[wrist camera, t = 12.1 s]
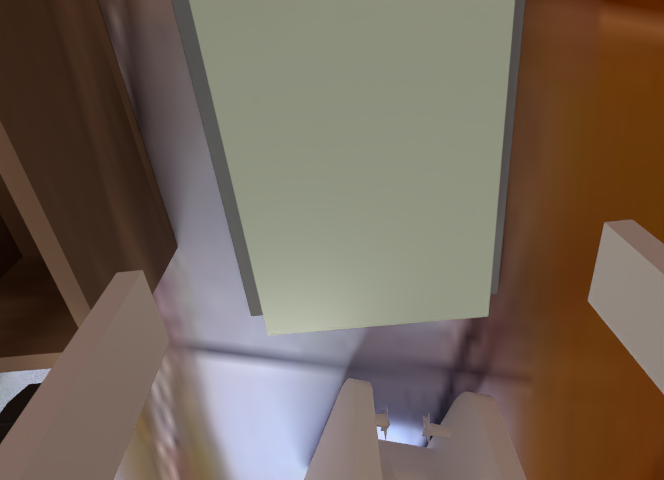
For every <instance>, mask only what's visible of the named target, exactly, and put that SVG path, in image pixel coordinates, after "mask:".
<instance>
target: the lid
mask: <svg viewBox="0 0 664 480" xmlns="http://www.w3.org/2000/svg"><path fill="white" fill-rule="evenodd" d="M189 2H190V6H191V11H192V15H193V19H194V23H195V28H196V32H197V36H198V40H199V45H200V49H201V53H202V57H203V62H204V66H205V70H206V74H207V79H208V83H209V87H210V91H211V96H212V100H213V104H214V108H215V113H216V117H217V121H218V125H219V130H220V134H221V138H222V142H223V147H224V151H225V155H226V159H227V164H228V168H229V172H230V176H231V181H232V185H233V189H234V193H235V198H236V202H237V206H238V210H239V215H240V219H241V223H242V227H243V232H244V236H245V240H246V244H247V249H248V253H249V257H250V261H251V266H252V270H253V274H254V278H255V283H256V287H257V291H258V295H259V300H260V304H261V308H262V312H263V317H264V321H265V325H266V329H267V334H268V336H269V335H280V334H292V333H303V332H315V331H327V330H338V329H350V328H362V327H373V326H385V325H396V324H408V323H420V322H431V321H443V320H455V319H466V318H478V317H488V314H489V302H490V290H491V278H492V267H493V255H494V243H495V231H496V219H497V207H498V196H499V184H500V172H501V160H502V148H503V136H504V124H505V113H506V101H507V89H508V77H509V65H510V53H511V42H512V30H513V18H514V6H515V0H189Z"/></svg>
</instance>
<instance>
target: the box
mask: <svg viewBox="0 0 664 480" xmlns="http://www.w3.org/2000/svg"><path fill="white" fill-rule="evenodd" d="M177 248H178V247H177V244H176V241H175V238H174V235H173V232H172V229H171V226H170V223H169V220H168V217H167V213H166V210H165V207H164V204H163V201H162V198H161V195H160V192H159V189H158V186H157V183H156V180H155V177H154V174H153V170H152V167H151V164H150V161H149V158H148V155H147V152H146V149H145V146H144V143H143V140H142V137H141V134H140V131H139V127H138V124H137V121H136V118H135V115H134V112H133V109H132V106H131V103H130V100H129V97H128V94H127V91H126V88H125V84H124V81H123V78H122V75H121V72H120V69H119V66H118V63H117V60H116V57H115V54H114V51H113V48H112V45H111V41H110V38H109V35H108V32H107V29H106V26H105V23H104V20H103V17H102V14H101V11H100V8H99V5H98V2H97V0H0V373H1V372H13V371H24V370H36V369H48V368H52V367H53V366H54V364H55V363H56V361H57V360H58V359H59V357H60V356H61V354H62V353H63V351H64V350H65V348H66V347H67V345H68V344H69V342H70V341H71V339H72V338H73V336H74V335H75V333H76V332H77V330H78V329H79V328H80V326H81V325H82V323H83V322H84V320H85V319H86V317H87V316H88V314H89V313H90V311H91V310H92V308H93V307H94V305H95V304H96V302H97V301H98V299H99V298H100V297H101V295H102V294H103V292H104V291H105V289H106V288H107V286H108V285H109V283H110V282H111V280H112V279H113V277H114V276H115V274H116V273H118V272H127V271H137V270H143V272H144V275H145V277H146V280H147V283H148V285H149V288H150V291H151V293H152V294H153V292H154V291H155V289H156V287H157V285H158V283H159V281H160V279H161V278H162V276H163V274H164V272H165V270H166V268H167V266H168V264H169V263H170V261H171V259H172V257H173V255H174V253H175V251H176V249H177Z"/></svg>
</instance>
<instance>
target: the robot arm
mask: <svg viewBox="0 0 664 480" xmlns="http://www.w3.org/2000/svg"><path fill="white" fill-rule="evenodd" d="M588 302H589V303H590V304H591V306H592V307H593V308H594V309H595V311H596V312H597V313H598V314H599V315H600V317H601V318H602V319H603V320H604V322H605V323H606V324H607V325H608V326H609V328H610V329H611V330H612V331H613V333H614V334H615V335H616V336H617V338H618V339H619V340H620V341H621V342H622V344H623V345H624V346H625V347H626V349H627V350H628V351H629V352H630V353H631V355H632V356H633V357H634V358H635V360H636V361H637V362H638V363H639V365H640V366H641V367H642V368H643V369H644V371H645V372H646V373H647V374H648V376H649V377H650V378H651V379H652V381H653V382H654V383H655V384H656V385H657V387H658V388H659V389H660V390H661V392H662V393H663V394H664V244H663V243H662V242H660V241H659V240H658V239H656V238H655V237H654V236H653V235H651V234H650V233H649V232H648V231H646V230H645V229H644V228H643V227H641V226H640V225H639V224H638V223H636V222H635V221H634V220H622V221H613V222H604V227H603V232H602V236H601V241H600V246H599V250H598V255H597V260H596V264H595V269H594V274H593V278H592V283H591V288H590V292H589V297H588ZM169 342H170V341H169V339H168V336H167V333H166V331H165V328H164V325H163V323H162V320H161V317H160V315H159V312H158V309H157V307H156V304H155V301H154V299H153V296H152V293H151V291H150V288H149V285H148V283H147V280H146V277H145V275H144V272H143V270H137V271H127V272H118V273H116V274H115V276H114V277H113V279H112V280H111V282H110V283H109V285H108V286H107V288H106V289H105V291H104V292H103V294H102V295H101V297H100V298H99V299H98V301H97V302H96V304H95V305H94V307H93V308H92V310H91V311H90V313H89V314H88V316H87V317H86V319H85V320H84V322H83V323H82V325H81V326H80V328H79V329H78V330H77V332H76V333H75V335H74V336H73V338H72V339H71V341H70V342H69V344H68V345H67V347H66V348H65V350H64V351H63V353H62V354H61V356H60V357H59V359H58V360H57V361H56V363H55V364H54V366H53V367H52V369H51V370H50V372H49V373H48V375H47V376H46V378H45V379H44V381H43V382H42V383H38V384H29V385H28V386H27V387H26V388H24V389H23V390H22V391H21V392H20V393H19V394H17V395H16V396H15V397H14V398H13V399H12V400H10V401H9V402H8V403H7V405H6V406H5V407H4V409H3V410H2V412H1V413H0V480H113V479H114V477H115V475H116V472H117V470H118V467H119V465H120V462H121V460H122V457H123V455H124V452H125V450H126V448H127V445H128V443H129V440H130V438H131V435H132V433H133V430H134V428H135V425H136V423H137V421H138V418H139V416H140V413H141V411H142V408H143V406H144V403H145V401H146V398H147V396H148V394H149V391H150V389H151V386H152V384H153V381H154V379H155V376H156V374H157V371H158V369H159V367H160V364H161V362H162V359H163V357H164V354H165V352H166V349H167V347H168V344H169Z"/></svg>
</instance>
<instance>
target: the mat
mask: <svg viewBox="0 0 664 480" xmlns="http://www.w3.org/2000/svg"><path fill="white" fill-rule="evenodd" d="M171 1H172V5H173V9H174V13H175V17H176V20H177V24H178V28H179V32H180V36H181V40H182V44H183V48H184V52H185V56H186V60H187V64H188V68H189V72H190V76H191V80H192V84H193V88H194V92H195V96H196V100H197V104H198V108H199V111H200V115H201V119H202V123H203V127H204V131H205V135H206V139H207V143H208V147H209V151H210V155H211V159H212V163H213V167H214V171H215V175H216V179H217V183H218V187H219V191H220V195H221V199H222V203H223V206H224V210H225V214H226V218H227V222H228V226H229V230H230V234H231V238H232V242H233V246H234V250H235V254H236V258H237V262H238V266H239V270H240V274H241V278H242V282H243V286H244V290H245V294H246V298H247V301H248V305H249V309H250V313H251V316H258V315H263V312H262V308H261V304H260V300H259V295H258V291H257V287H256V283H255V278H254V274H253V270H252V266H251V261H250V257H249V253H248V249H247V244H246V240H245V236H244V232H243V227H242V223H241V219H240V215H239V210H238V206H237V202H236V198H235V193H234V189H233V185H232V181H231V176H230V172H229V168H228V164H227V159H226V155H225V151H224V147H223V142H222V138H221V134H220V130H219V125H218V121H217V117H216V113H215V108H214V104H213V100H212V96H211V91H210V87H209V83H208V79H207V74H206V70H205V66H204V62H203V57H202V53H201V49H200V45H199V40H198V36H197V32H196V28H195V23H194V19H193V15H192V11H191V6H190V2H189V0H171ZM524 8H525V0H515V6H514V18H513V30H512V42H511V53H510V65H509V77H508V89H507V101H506V113H505V124H504V136H503V148H502V160H501V172H500V184H499V196H498V207H497V219H496V231H495V243H494V255H493V267H492V278H491V290H490V295H496V294H498V283H499V273H500V262H501V252H502V241H503V231H504V220H505V209H506V199H507V188H508V178H509V167H510V156H511V146H512V135H513V125H514V114H515V104H516V93H517V82H518V72H519V61H520V51H521V40H522V30H523V19H524Z"/></svg>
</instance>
